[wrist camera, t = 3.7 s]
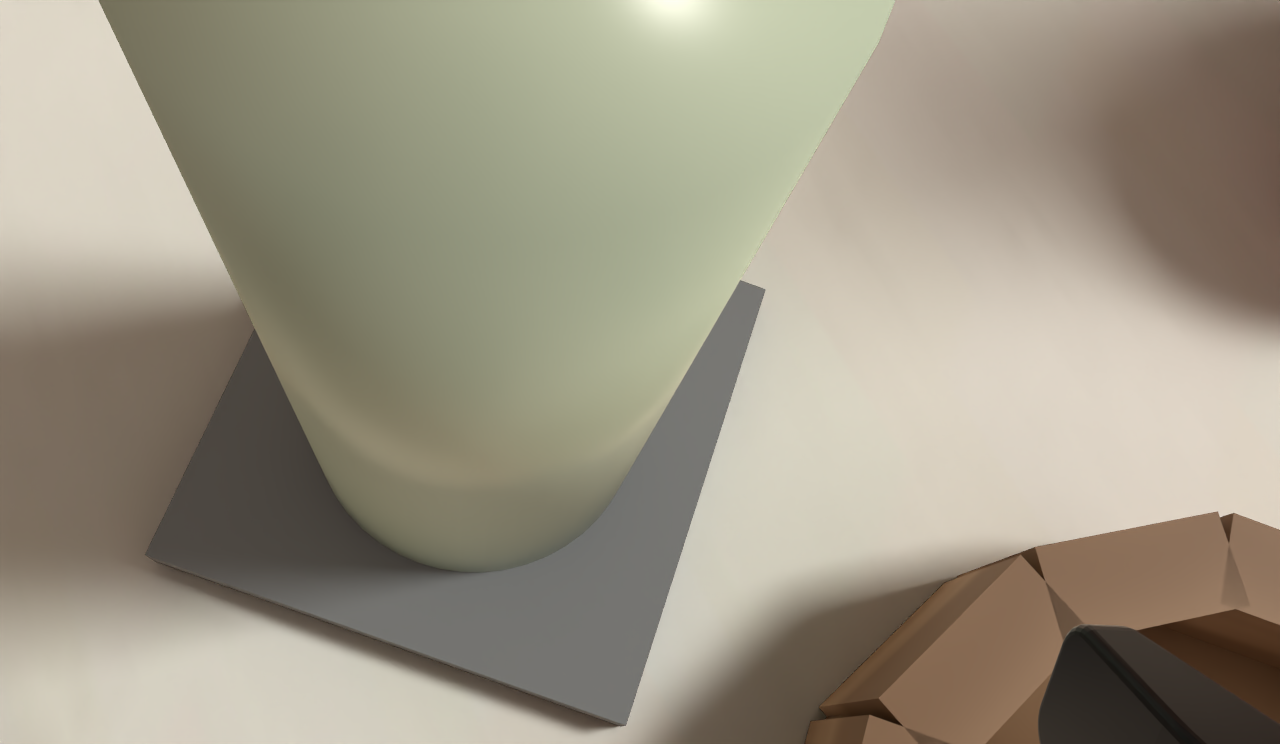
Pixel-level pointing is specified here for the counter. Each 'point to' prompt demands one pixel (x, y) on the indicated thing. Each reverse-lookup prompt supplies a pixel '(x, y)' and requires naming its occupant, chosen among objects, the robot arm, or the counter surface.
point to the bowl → (1044, 614)
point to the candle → (488, 225)
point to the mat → (443, 599)
